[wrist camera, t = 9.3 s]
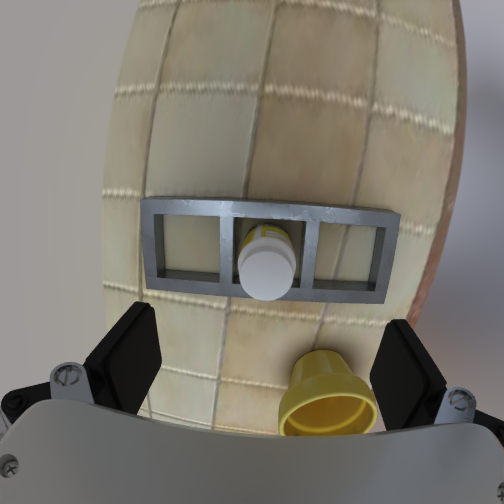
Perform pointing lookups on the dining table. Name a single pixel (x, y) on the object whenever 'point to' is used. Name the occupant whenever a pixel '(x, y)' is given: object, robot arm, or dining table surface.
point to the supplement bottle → (267, 262)
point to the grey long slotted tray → (271, 209)
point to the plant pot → (325, 399)
